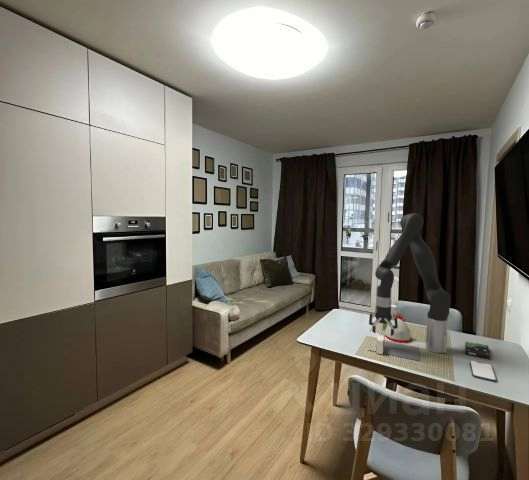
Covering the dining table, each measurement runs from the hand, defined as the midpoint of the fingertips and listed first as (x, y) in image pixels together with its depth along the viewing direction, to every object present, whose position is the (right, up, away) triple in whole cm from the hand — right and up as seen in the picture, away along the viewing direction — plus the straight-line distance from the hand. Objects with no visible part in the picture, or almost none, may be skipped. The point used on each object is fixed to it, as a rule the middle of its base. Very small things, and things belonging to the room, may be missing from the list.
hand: (382, 334), depth 158 cm
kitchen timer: (+14, -7, +14) cm, 21 cm away
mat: (+5, -8, -2) cm, 9 cm away
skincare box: (+15, -6, +28) cm, 32 cm away
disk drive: (+48, -9, -3) cm, 49 cm away
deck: (0, -4, +1) cm, 4 cm away
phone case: (+36, -10, -24) cm, 44 cm away
